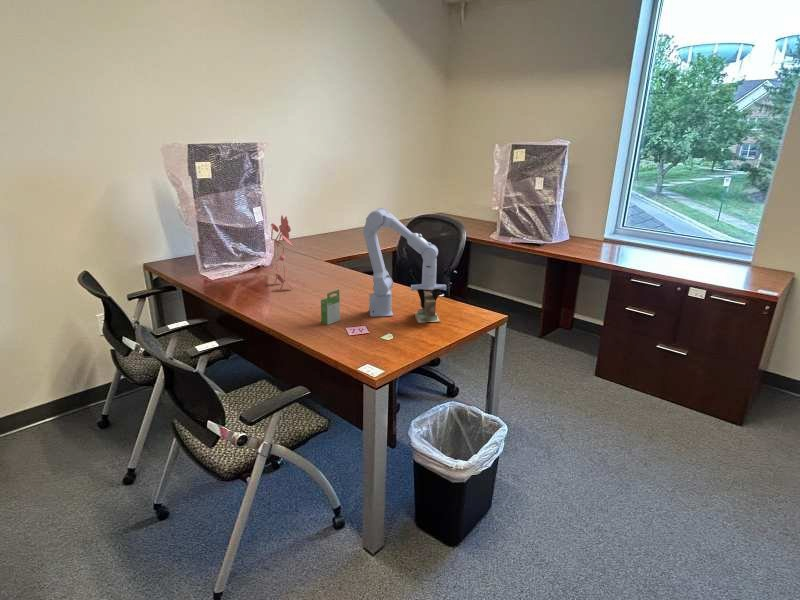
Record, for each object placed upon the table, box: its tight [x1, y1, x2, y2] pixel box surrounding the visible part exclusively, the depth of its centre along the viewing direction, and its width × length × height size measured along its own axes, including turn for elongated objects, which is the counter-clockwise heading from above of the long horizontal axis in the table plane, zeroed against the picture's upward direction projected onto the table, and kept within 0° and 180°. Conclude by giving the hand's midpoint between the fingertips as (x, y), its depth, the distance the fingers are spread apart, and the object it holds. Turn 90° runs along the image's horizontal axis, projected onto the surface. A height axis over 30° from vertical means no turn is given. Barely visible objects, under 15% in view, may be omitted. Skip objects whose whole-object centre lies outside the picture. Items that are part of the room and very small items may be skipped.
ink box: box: [320, 289, 341, 326], centre depth 192 cm, size 7×4×13 cm, turn 141°
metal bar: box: [419, 291, 437, 316], centre depth 198 cm, size 4×13×6 cm, turn 8°
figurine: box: [270, 215, 305, 295], centre depth 230 cm, size 15×26×35 cm, turn 33°
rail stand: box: [414, 308, 441, 324], centre depth 200 cm, size 9×10×3 cm
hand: (427, 306), depth 199 cm, fingers closed on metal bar, 4 cm apart
